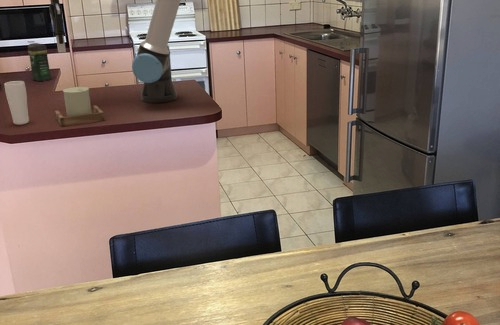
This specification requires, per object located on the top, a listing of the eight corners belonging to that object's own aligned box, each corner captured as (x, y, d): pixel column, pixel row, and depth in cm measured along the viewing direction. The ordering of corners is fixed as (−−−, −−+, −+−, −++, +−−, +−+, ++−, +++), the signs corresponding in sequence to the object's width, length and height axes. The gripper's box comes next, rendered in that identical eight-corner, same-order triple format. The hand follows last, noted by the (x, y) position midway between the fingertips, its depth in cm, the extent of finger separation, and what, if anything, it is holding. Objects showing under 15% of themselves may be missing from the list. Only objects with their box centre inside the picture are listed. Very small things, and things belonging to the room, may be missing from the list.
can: (79, 124, 188) (75, 92, 184) (61, 121, 192) (57, 89, 188) (98, 118, 195) (94, 86, 191) (80, 115, 200) (76, 84, 195)
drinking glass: (25, 119, 195) (18, 80, 190) (34, 122, 191) (28, 82, 186) (8, 123, 191) (0, 83, 185) (17, 126, 186) (9, 85, 181)
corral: (55, 118, 196) (54, 110, 195) (96, 112, 203) (95, 105, 202) (61, 126, 186) (60, 118, 184) (104, 120, 192) (103, 112, 191)
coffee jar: (53, 79, 266) (48, 43, 260) (38, 82, 261) (32, 44, 255) (45, 77, 273) (39, 41, 266) (30, 79, 268) (24, 43, 261)
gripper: (40, -12, 199) (49, 50, 207) (44, -11, 188) (54, 55, 197) (60, -12, 202) (69, 49, 211) (66, -12, 192) (75, 53, 200)
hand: (62, 52), depth 204 cm, fingers closed
